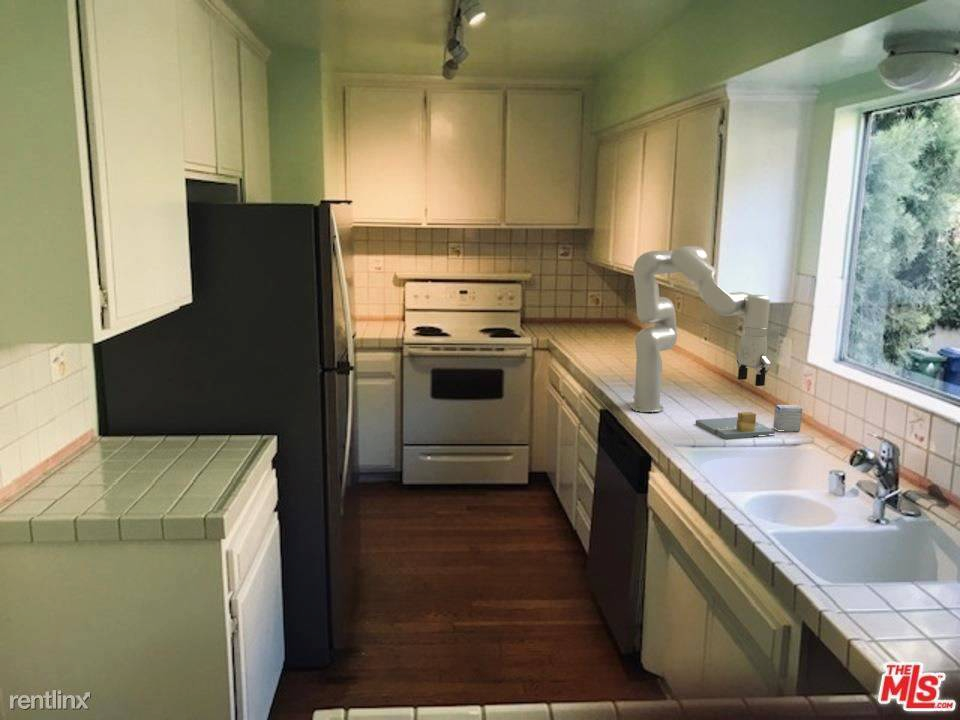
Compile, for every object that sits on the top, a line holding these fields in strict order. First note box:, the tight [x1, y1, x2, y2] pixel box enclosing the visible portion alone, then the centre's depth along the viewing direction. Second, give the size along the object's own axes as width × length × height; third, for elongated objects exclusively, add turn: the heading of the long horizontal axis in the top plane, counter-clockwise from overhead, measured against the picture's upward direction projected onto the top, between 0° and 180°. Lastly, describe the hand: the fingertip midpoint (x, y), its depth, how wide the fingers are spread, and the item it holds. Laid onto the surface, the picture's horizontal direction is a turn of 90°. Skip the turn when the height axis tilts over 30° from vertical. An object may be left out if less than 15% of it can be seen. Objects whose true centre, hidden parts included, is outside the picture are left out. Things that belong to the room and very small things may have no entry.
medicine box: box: [772, 404, 803, 432], centre depth 259 cm, size 8×4×9 cm, turn 92°
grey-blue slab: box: [715, 411, 776, 440], centre depth 252 cm, size 6×19×8 cm, turn 105°
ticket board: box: [695, 416, 765, 435], centre depth 261 cm, size 12×20×2 cm, turn 105°
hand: (750, 382), depth 249 cm, fingers open, 9 cm apart
